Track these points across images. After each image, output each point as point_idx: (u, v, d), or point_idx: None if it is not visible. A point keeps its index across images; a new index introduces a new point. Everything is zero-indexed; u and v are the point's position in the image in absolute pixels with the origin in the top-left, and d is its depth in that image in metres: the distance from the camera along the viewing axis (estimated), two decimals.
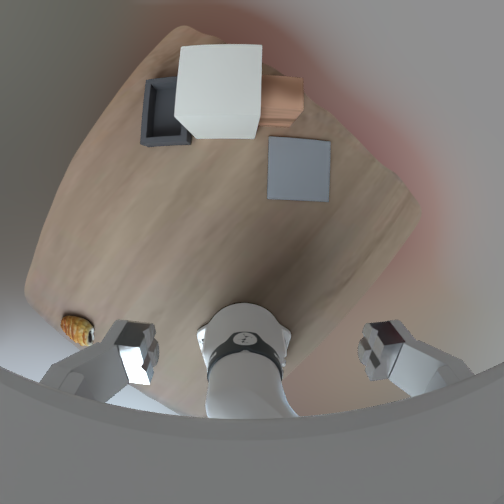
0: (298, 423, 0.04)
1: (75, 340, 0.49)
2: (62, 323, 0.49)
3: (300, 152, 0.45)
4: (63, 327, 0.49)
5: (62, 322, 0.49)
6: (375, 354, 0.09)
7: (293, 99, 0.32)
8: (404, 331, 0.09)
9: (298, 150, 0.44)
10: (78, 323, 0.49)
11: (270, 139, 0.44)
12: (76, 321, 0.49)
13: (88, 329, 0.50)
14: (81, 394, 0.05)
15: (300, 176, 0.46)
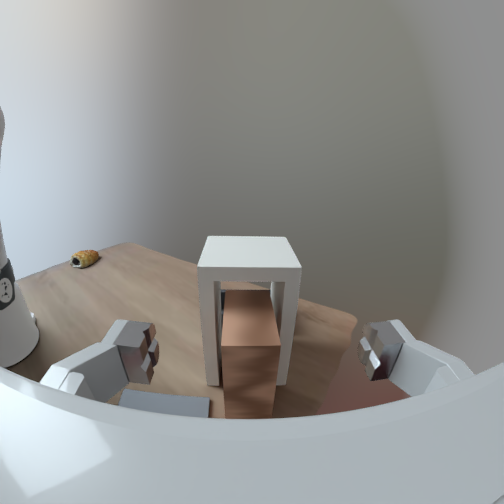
0: (298, 423, 0.04)
1: (79, 251, 0.65)
2: (94, 251, 0.69)
3: None
4: (91, 250, 0.69)
5: (95, 251, 0.69)
6: (375, 354, 0.09)
7: (238, 335, 0.23)
8: (404, 331, 0.09)
9: None
10: (88, 257, 0.64)
11: (204, 398, 0.28)
12: (90, 257, 0.65)
13: (81, 260, 0.61)
14: (81, 394, 0.05)
15: None
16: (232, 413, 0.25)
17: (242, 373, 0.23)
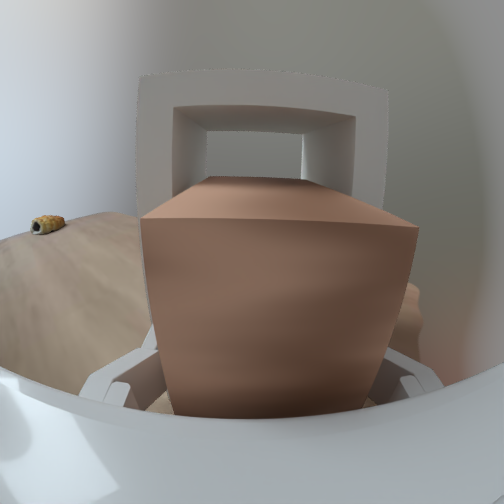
0: (298, 423, 0.04)
1: None
2: (60, 217, 0.52)
3: None
4: (57, 216, 0.52)
5: (61, 217, 0.52)
6: None
7: (229, 203, 0.06)
8: None
9: None
10: (51, 221, 0.47)
11: None
12: (53, 221, 0.48)
13: (42, 224, 0.45)
14: (128, 405, 0.06)
15: None
16: None
17: (246, 376, 0.05)
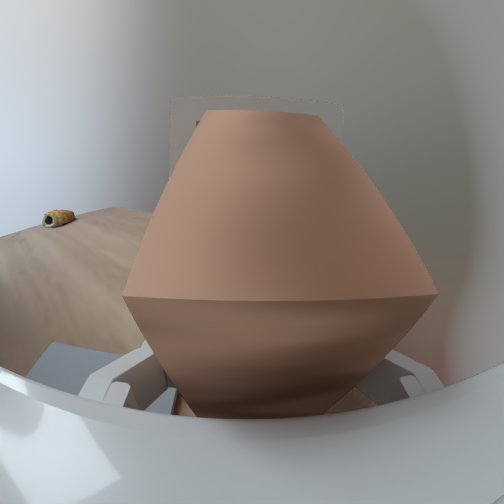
0: (298, 423, 0.04)
1: (53, 211, 0.53)
2: None
3: None
4: (67, 210, 0.57)
5: None
6: None
7: (225, 231, 0.05)
8: None
9: None
10: (63, 214, 0.52)
11: None
12: (65, 215, 0.53)
13: (54, 217, 0.50)
14: (128, 405, 0.06)
15: None
16: None
17: (246, 382, 0.06)
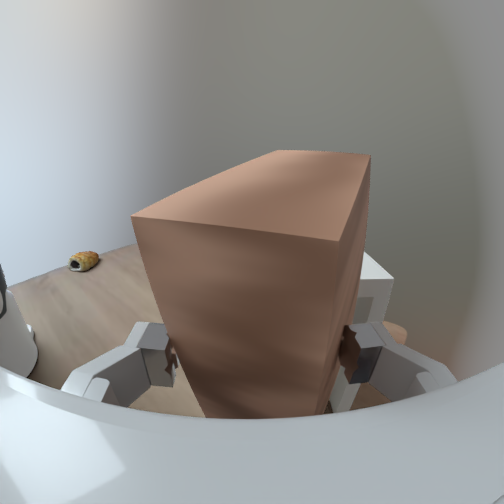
0: (298, 423, 0.04)
1: (77, 253, 0.58)
2: None
3: None
4: (90, 251, 0.62)
5: None
6: (353, 357, 0.09)
7: (206, 198, 0.07)
8: (384, 334, 0.09)
9: None
10: (89, 258, 0.58)
11: None
12: (91, 259, 0.58)
13: (81, 263, 0.55)
14: (107, 401, 0.06)
15: None
16: None
17: (209, 335, 0.07)
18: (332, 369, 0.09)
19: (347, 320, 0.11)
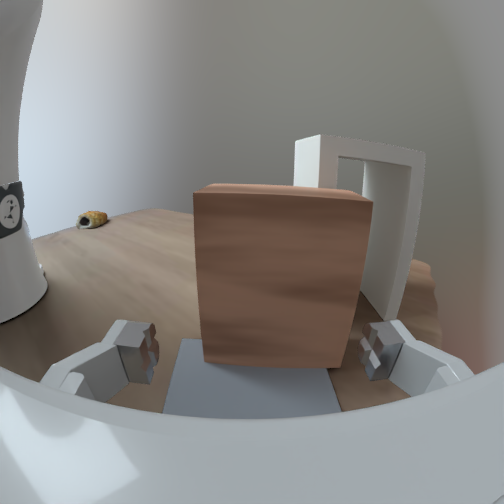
0: (298, 423, 0.04)
1: None
2: None
3: (296, 388, 0.16)
4: None
5: None
6: (375, 354, 0.09)
7: (229, 186, 0.18)
8: (404, 331, 0.09)
9: (300, 384, 0.17)
10: (99, 216, 0.57)
11: None
12: (101, 216, 0.58)
13: (92, 219, 0.55)
14: (81, 395, 0.05)
15: (231, 391, 0.16)
16: None
17: None
18: (234, 297, 0.17)
19: (274, 295, 0.16)
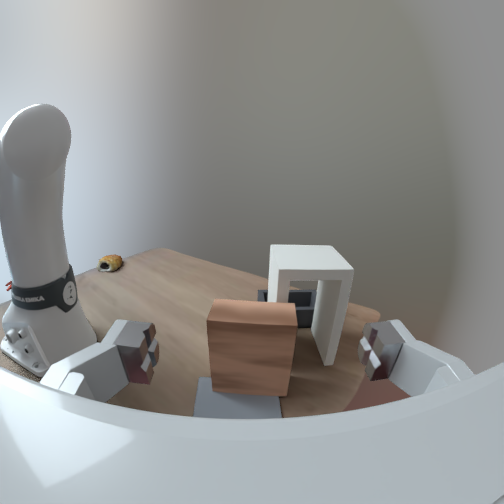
0: (298, 423, 0.04)
1: None
2: (117, 255, 0.77)
3: (260, 406, 0.31)
4: (114, 255, 0.76)
5: None
6: (375, 354, 0.09)
7: (224, 305, 0.33)
8: (404, 331, 0.09)
9: (262, 404, 0.31)
10: (116, 260, 0.72)
11: None
12: (118, 261, 0.73)
13: (111, 264, 0.69)
14: (81, 394, 0.05)
15: (227, 407, 0.31)
16: None
17: None
18: (228, 363, 0.31)
19: (248, 363, 0.31)
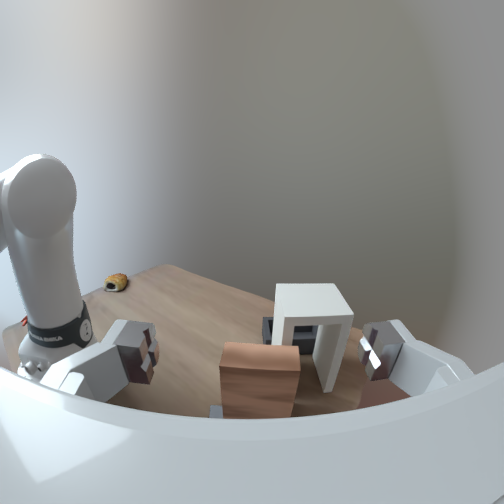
0: (298, 423, 0.04)
1: (110, 276, 0.74)
2: (122, 274, 0.79)
3: None
4: (120, 273, 0.78)
5: (123, 274, 0.79)
6: (375, 354, 0.09)
7: (234, 349, 0.35)
8: (404, 331, 0.09)
9: None
10: (122, 280, 0.74)
11: None
12: (123, 280, 0.75)
13: (117, 284, 0.72)
14: (81, 394, 0.05)
15: None
16: None
17: None
18: (238, 398, 0.33)
19: (255, 398, 0.33)
